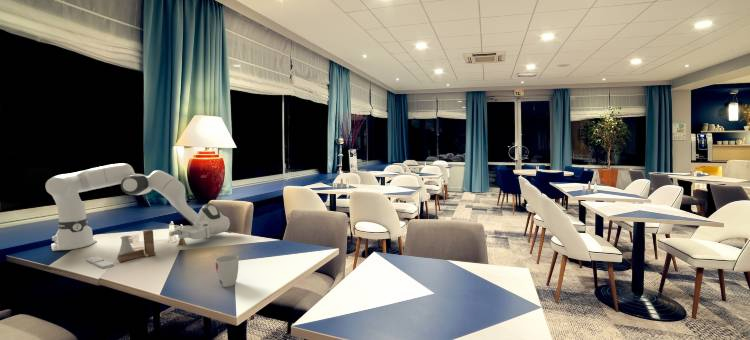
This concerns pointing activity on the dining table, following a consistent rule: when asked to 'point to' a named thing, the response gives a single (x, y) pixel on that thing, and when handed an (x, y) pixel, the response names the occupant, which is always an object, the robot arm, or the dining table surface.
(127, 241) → the flask
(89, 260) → the broken grey strip
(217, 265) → the cup
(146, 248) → the brown wooden l-shaped piece
